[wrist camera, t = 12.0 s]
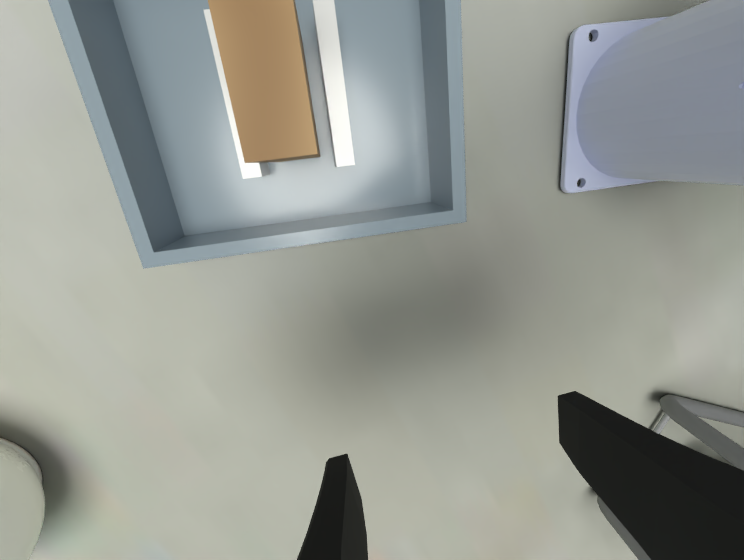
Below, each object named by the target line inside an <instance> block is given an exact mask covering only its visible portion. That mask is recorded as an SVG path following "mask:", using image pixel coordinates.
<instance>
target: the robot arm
mask: <svg viewBox="0 0 744 560" xmlns="http://www.w3.org/2000/svg"><path fill="white" fill-rule="evenodd" d="M589 33H591V34H592V36H593V39H592V41H591V42H590V40H589V37H588V36H589ZM579 179H581V183H580V185H579V186H577V181H578V180H579ZM655 181H676V182H693V183H710V184H727V185H744V0H709V1H706V2H704V3H702V4H699V5H697V6H694V7H692V8H690V9H687V10H685V11H682V12H680V13H678V14H675V15H673V16H669V17H659V18H649V19H639V20H629V21H619V22H609V23H598V24H588V25H582V26H580V27H578V28H576V29H575V30H574V31H573V32H572V34H571V36H570V41H569V57H568V73H567V89H566V105H565V121H564V136H563V152H562V168H561V184H560V185H561V189H562V191H563V192H565V193H577V192H584V191H591V190H598V189H605V188H612V187H619V186H626V185H634V184H641V183H648V182H655ZM558 416H559V443H560V444H561V446H562V447H563V449H564V450H565V452H566V453H567V455H568V457H569V458H570V460H571V461H572V463H573V464H574V465H575V467H576V468H577V470H578V471H579V473H580V474H581V475H582V476H583V478H584V479H585V480H586V481H587V483H588V484H589V485H590V486H591V487H592V489H593V490H594V491H595V492H596V493H597V495H598V496H599V497H600V498H601V499H602V501H603V502H604V503H605V504H606V505H607V507H608V508H609V509H610V510H611V511H612V513H613V514H614V515H615V516H616V517H617V519H618V520H619V521H620V522H621V523H622V525H623V526H624V527H625V528H626V529H627V530H628V532H629V533H630V534H631V535H632V536H633V538H634V539H635V540H636V541H637V542H638V544H639V545H640V546H641V547H642V549H643V550H644V551H645V553H646V554H647V555H648V556H649V558H650V559H651V560H744V470H741V469H739V468H736V467H733V466H731V465H728V464H726V463H723V462H721V461H718V460H716V459H713V458H711V457H709V456H706V455H704V454H702V453H699V452H697V451H695V450H693V449H690V448H688V447H686V446H684V445H682V444H679V443H677V442H675V441H673V440H671V439H669V438H666V437H664V436H662V435H660V434H658V433H656V432H654V431H652V430H650V429H648V428H646V427H644V426H642V425H640V424H638V423H636V422H634V421H632V420H630V419H628V418H626V417H624V416H622V415H620V414H618V413H616V412H615V411H613V410H611V409H609V408H607V407H605V406H603V405H601V404H599V403H597V402H596V401H594V400H592V399H590V398H588V397H586V396H584V395H582V394H580V393H578V392H576V391H573V392H570V393H566V394H562V395H559V396H558ZM297 560H368V551H367V534H366V527H365V520H364V513H363V506H362V499H361V496H360V493H359V489H358V486H357V483H356V480H355V477H354V473H353V470H352V467H351V464H350V461H349V458H348V454H344V455H340V456H336V457H333V458H329V459H328V461H327V462H326V467H325V472H324V476H323V480H322V484H321V488H320V492H319V495H318V499H317V502H316V506H315V509H314V512H313V515H312V518H311V522H310V525H309V528H308V531H307V534H306V537H305V539H304V542H303V545H302V547H301V550H300V553H299V556H298V558H297Z"/></svg>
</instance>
